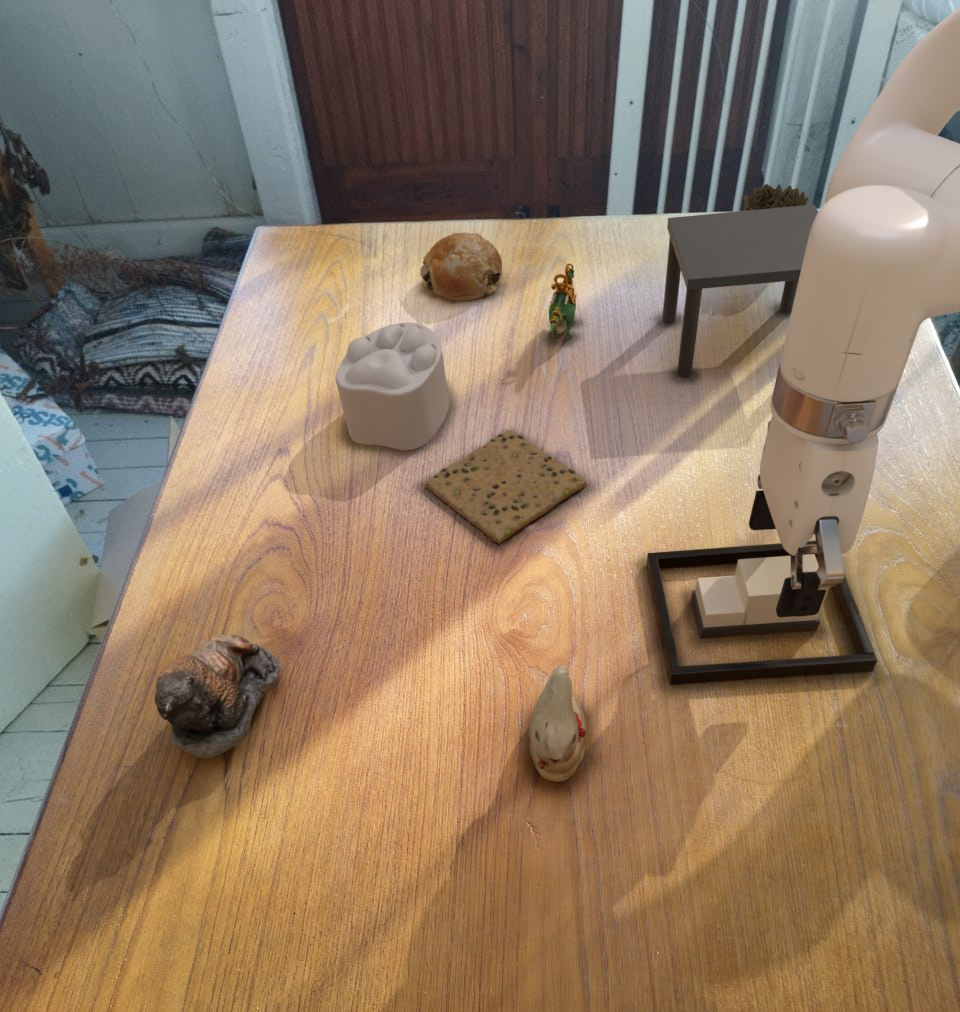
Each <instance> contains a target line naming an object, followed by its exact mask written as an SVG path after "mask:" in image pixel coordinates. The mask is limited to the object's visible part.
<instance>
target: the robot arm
mask: <svg viewBox="0 0 960 1012" xmlns="http://www.w3.org/2000/svg"><path fill="white" fill-rule="evenodd" d="M958 111H960V6H959V7H958V8H956V9H955V10H954V11H953V12H951V13H950V14H949V15H948V16H946V17H945V18H944V19H943V20H941V21H940V22H939V23H938V24H937V25H935V26H934V27H933V28H932V29H931V30H930V31H929V32H928V33H926V34H925V36H923V37H922V38H921V39H920V40H919V41H918V42H917V43H916V45H915V46H913V48H912V49H911V50H910V51H909V52H908V53H907V54H906V55H905V57H904V58H903V59H902V60H901V62H900V63H899V65H898V66H897V67H896V69H895V70H894V72H893V73H892V75H891V76H890V77H889V79H888V80H887V82H886V84H884V86H883V88H882V89H881V91H880V93H879V94H878V96H877V98H876V99H875V101H874V102H873V104H872V105H871V107H870V108H869V110H868V111H867V113H866V114H865V116H864V118H863V119H862V120H861V122H860V124H859V125H858V127H857V129H856V130H855V132H854V133H853V135H852V137H851V138H850V140H849V142H848V143H847V145H846V147H845V149H844V151H843V153H842V155H841V157H840V158H839V160H838V162H837V165H836V166H835V168H834V170H833V172H832V175H831V178H830V181H829V183H828V186H827V191H826V194H825V198H824V204H823V205H822V207H821V208H819V210H818V213H817V215H816V217H815V219H814V221H813V224H812V227H811V231H810V234H809V238H808V242H807V246H806V250H805V255H804V259H803V264H802V268H801V272H800V277H799V281H798V285H797V290H796V294H795V298H794V303H793V307H792V312H791V313H790V316H789V321H788V326H787V329H786V334H785V339H784V344H783V348H782V352H781V355H780V361H779V365H778V369H777V374H776V378H775V383H774V387H773V391H772V395H771V399H770V406H769V407H770V412H771V414H772V416H771V419H770V420H769V421H768V422H767V432H766V436H765V440H764V444H763V448H762V452H761V458H760V464H759V474H758V476H757V488H758V490H756V491H755V494H754V498H753V502H752V507H751V512H750V515H749V520H748V527H749V529H750V530H752V531H767V530H769V531H770V530H776V533H777V536H778V538H779V541H780V543H781V544H782V546H783V548H784V549H785V550H786V551H787V552H788V553H789V554H791V577H788V578H785V580H784V584H783V587H782V590H781V594H780V597H779V600H778V604H777V607H776V613H777V616H778V617H794V616H796V617H802V616H810V615H816V614H817V613H818V612H819V610H820V607H821V604H822V601H823V599H824V596H825V593H826V590H828V591H829V590H833V589H835V587H836V585H838V584H839V583H840V582H842V581H843V579H844V574H845V568H844V563H843V556H842V554H846V553H848V552H849V551H850V550H851V549H852V547H853V545H854V543H855V541H856V538H857V535H858V531H859V529H860V526H861V522H862V519H863V516H864V513H865V509H866V505H867V502H868V499H869V495H870V491H871V487H872V482H873V478H874V474H875V467H876V463H877V456H878V447H879V436H878V433H879V432H880V431H881V430H882V429H883V428H884V426H885V424H886V421H887V418H888V417H889V413H890V409H891V407H892V404H893V401H894V399H895V396H896V393H897V390H898V388H899V386H900V382H901V379H902V376H903V374H904V371H905V369H906V365H907V363H908V360H909V357H910V355H911V352H912V349H913V346H914V342H915V340H916V338H917V335H918V332H919V329H920V326H921V325H922V324H923V322H924V321H926V320H929V319H931V318H935V317H940V316H945V315H950V314H955V313H960V143H959V142H956V141H953V140H950V139H948V138H946V137H943V136H940V135H939V134H940V133H941V132H942V130H943V129H944V128H945V127H946V125H947V124H948V123H949V121H950V120H951V119H952V118H953V117H954V116H955V114H956V113H957V112H958ZM813 535H814V537H815V541H816V544H811V545H806V544H807V542H808V541H811V540H812V538H813ZM806 554H818V558H817V562H818V565H819V567H818V570H817V571H815V572H803V555H806Z"/></svg>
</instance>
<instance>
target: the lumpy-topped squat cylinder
mask: <svg viewBox="0 0 960 1012" xmlns="http://www.w3.org/2000/svg"><path fill="white" fill-rule="evenodd" d="M443 353H444V352H443V348H442V345H441V343H440V340H439V337H438V335H437V334H436V332H434V331H433V330H431V329H430V328H429V327H428V326H426V325H425V324H422V323H419V322H411V321H410V322H409V321H408V322H399V323H394V324H388V325H385V326H383V327H380V328H378V329H376V330H374V331H372V332H370V333H368V334H366V335H365V336H363V337H362V336H361V337H356V338H354V339H352V341H350V342H349V344H348V346H347V352H346V354H345V356H344V357H343V358H342V361H341V363H340V364H339V366H338V368H337V370H336V373H335V378H334V379H335V383H336V387H337V391H338V395H339V400H340V403H341V408H342V412H343V416H344V420H345V424H346V428H347V433H348V435H349V438H350V439H351V441H353V442H354V443H356V444H358V445H364V446H365V445H366V446H381V447H385V448H390V449H394V450H398V451H412V450H416V449H419V448H421V447H423V446H424V445H425V446H426V444H427V443H429V442H430V441H431V440H432V439H433V438H434V436H435V435H436V433H437V432H438V430H439V429H440V428H441V427H442V425H443V422H444V421H445V419H446V417H447V415H448V413H449V409H450V399H449V392H448V385H447V376H446V369H445V360H444V354H443Z"/></svg>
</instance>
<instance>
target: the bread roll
mask: <svg viewBox="0 0 960 1012" xmlns="http://www.w3.org/2000/svg"><path fill="white" fill-rule="evenodd" d="M422 264H423V265H422V266H421V267H420V270H419V272H420V273H419V275H420V277H421V278H422V280H423V281H424V282H426V287H427V288H428V289H429V291H430V292H431V293H433V294H434V295H436V296H437V297H439V298H442V299H444V300H446V301H449V302H451V301H455V300H456V301H471V300H477V299H480V298H482V297H484V296H488V295H489V296H491V295H492V294H493V293H494V292H496V290H497V289H498V287H497V285H498V284H499V282H500V279H501V277H502V272H503V261H502V257H501V254H500V253H499V251H498V249H497V248H496V247H495V246H494V244H493V243H492V242H491V241H489V240H488V239H486V238H484V237H483V236H482V235H481V234H480V233H478V232H466V231H465V232H455V233H452V234H449V235H446V236H444V237H442V238H441V239H439V240H438V241H437V242H435V243H434V244H433V246H431V248H430V250H428V251H427V253H426V254H425V256H424V257H423V261H422Z"/></svg>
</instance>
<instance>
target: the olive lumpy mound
mask: <svg viewBox="0 0 960 1012" xmlns="http://www.w3.org/2000/svg"><path fill="white" fill-rule="evenodd" d="M805 196H806V193H805V191H801V193H800V189H798V188H797V187H796V188H792V185H788V186H787V187H786V188H785V189H784V190H783V188H782V185H781V184H780V183H779V184H778V185H777V186H776V187H775V188H774V187H773V186H772V185H770V184H768V183H765V184H763V185H762V186H761V187H756V186H755V187H754V188H753V190H752V195H749V196H748V193H747V192H746V193H745V195H744V196H743V211H749V210H760V209H771V208H782V207H792V206H803V205H808V202H809V196H806V197H805Z"/></svg>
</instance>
